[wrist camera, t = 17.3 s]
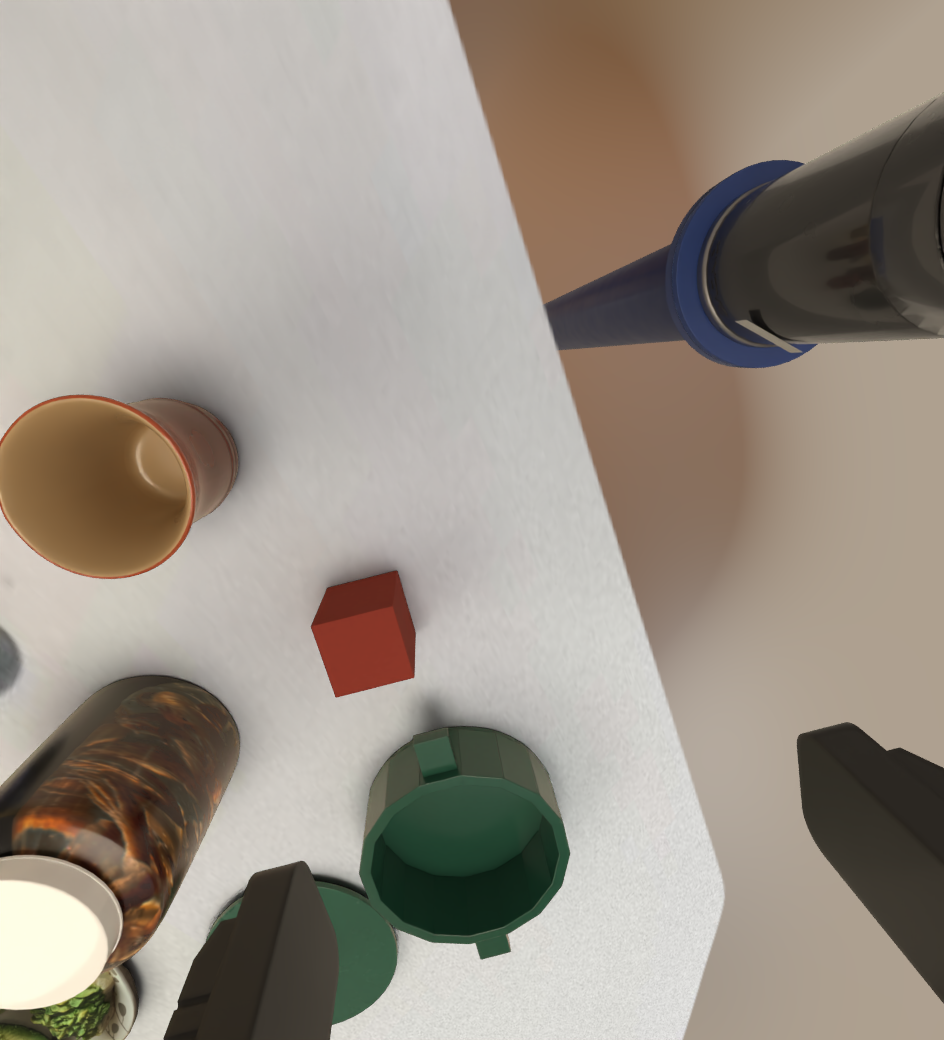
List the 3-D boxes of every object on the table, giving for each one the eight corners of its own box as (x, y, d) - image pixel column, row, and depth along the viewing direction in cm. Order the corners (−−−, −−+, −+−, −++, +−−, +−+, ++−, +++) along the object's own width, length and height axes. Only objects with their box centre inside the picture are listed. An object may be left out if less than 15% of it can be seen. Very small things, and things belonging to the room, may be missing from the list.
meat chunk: (397, 569, 39) (392, 605, 34) (415, 633, 41) (414, 678, 35) (326, 587, 39) (310, 626, 34) (348, 650, 41) (335, 698, 35)
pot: (524, 675, 42) (538, 719, 37) (572, 878, 48) (591, 941, 43) (334, 723, 42) (321, 775, 37) (404, 921, 48) (402, 990, 43)
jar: (109, 645, 39) (-75, 811, 25) (266, 714, 42) (183, 901, 27) (46, 774, 41) (-156, 995, 27) (199, 832, 44) (89, 1063, 29)
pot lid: (368, 852, 46) (362, 906, 41) (418, 989, 50) (417, 1051, 46) (178, 901, 45) (151, 961, 41) (245, 1034, 50) (227, 1101, 45)
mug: (256, 393, 36) (192, 405, 26) (255, 527, 38) (195, 585, 28) (51, 371, 34) (-100, 376, 24) (62, 511, 37) (-71, 567, 27)
